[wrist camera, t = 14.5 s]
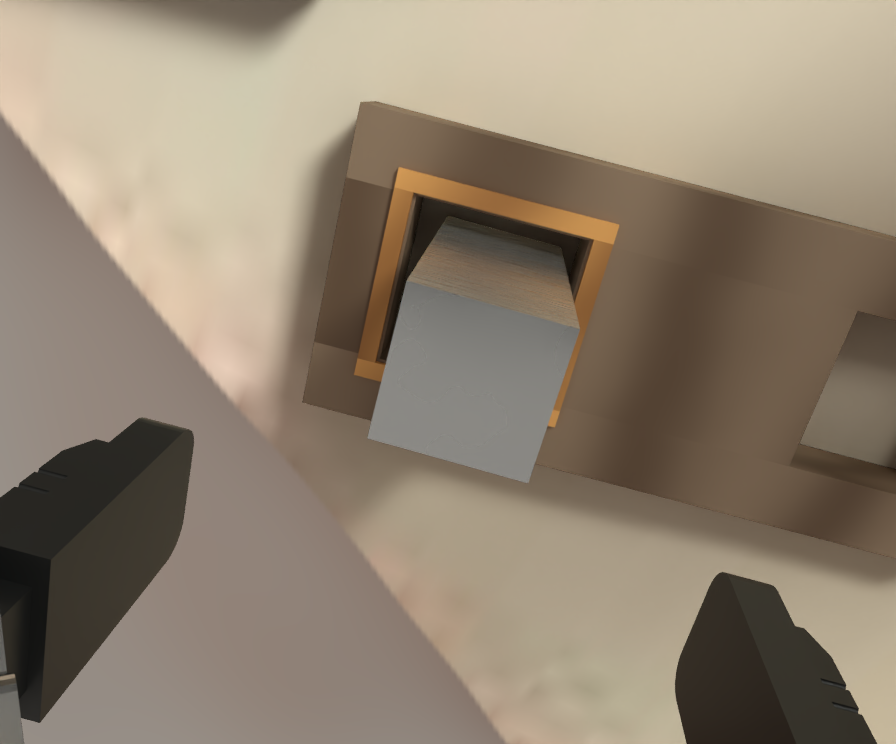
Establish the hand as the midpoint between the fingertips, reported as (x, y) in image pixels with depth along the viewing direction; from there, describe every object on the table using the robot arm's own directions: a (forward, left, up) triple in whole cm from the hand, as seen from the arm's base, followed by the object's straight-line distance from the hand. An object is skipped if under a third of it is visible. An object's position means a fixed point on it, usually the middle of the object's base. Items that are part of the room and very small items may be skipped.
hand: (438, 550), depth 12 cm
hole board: (-7, 0, -17) cm, 18 cm away
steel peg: (0, 0, -17) cm, 17 cm away
